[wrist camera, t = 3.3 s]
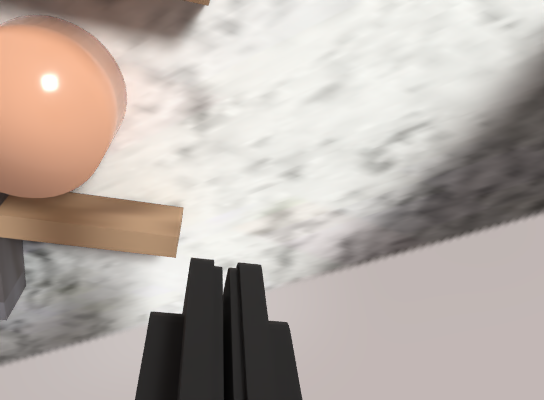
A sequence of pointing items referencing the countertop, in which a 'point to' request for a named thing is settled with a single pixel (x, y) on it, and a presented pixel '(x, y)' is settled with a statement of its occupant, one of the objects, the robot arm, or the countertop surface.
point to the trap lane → (80, 229)
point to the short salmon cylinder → (54, 105)
